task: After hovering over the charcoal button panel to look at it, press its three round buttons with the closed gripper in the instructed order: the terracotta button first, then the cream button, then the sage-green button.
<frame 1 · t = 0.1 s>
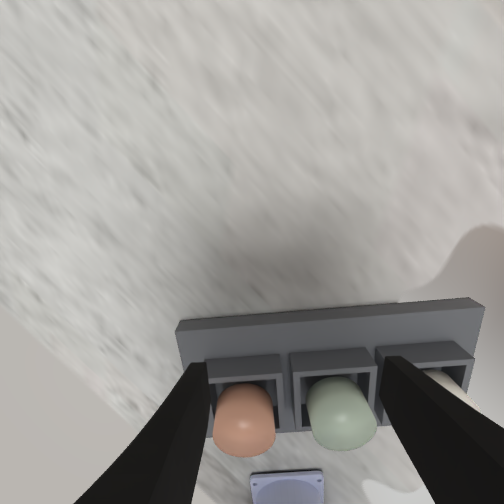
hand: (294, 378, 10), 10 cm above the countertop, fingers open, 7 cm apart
terracotta button: (244, 419, 18), point 4 cm above the countertop, slide at 0.0 cm
panel: (322, 366, 22), on the countertop
cream button: (435, 406, 18), point 4 cm above the countertop, slide at 0.0 cm
sage button: (338, 412, 18), point 5 cm above the countertop, slide at 0.0 cm
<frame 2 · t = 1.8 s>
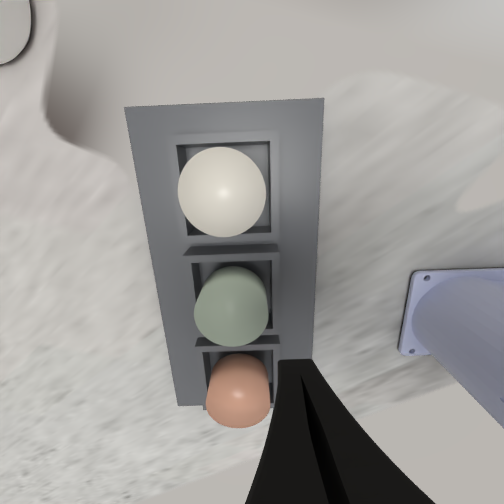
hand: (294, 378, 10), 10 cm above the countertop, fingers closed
terracotta button: (238, 389, 18), point 4 cm above the countertop, slide at 0.0 cm
panel: (236, 276, 20), on the countertop
cream button: (224, 192, 13), point 4 cm above the countertop, slide at 0.0 cm
sage button: (232, 305, 16), point 4 cm above the countertop, slide at 0.0 cm
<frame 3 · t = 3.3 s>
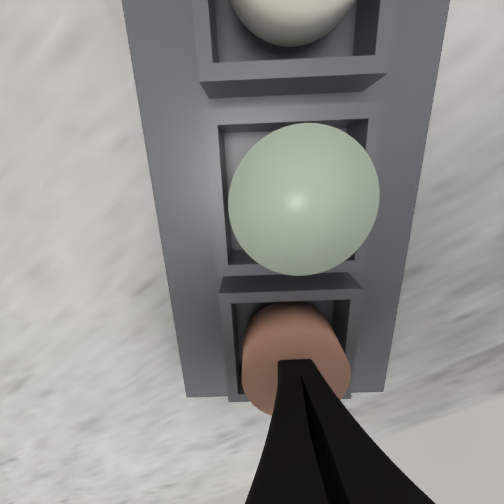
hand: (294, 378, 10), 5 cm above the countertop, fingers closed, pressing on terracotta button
terracotta button: (291, 357, 11), point 4 cm above the countertop, slide at 0.5 cm, touching gripper
panel: (281, 191, 13), on the countertop
sage button: (296, 201, 8), point 4 cm above the countertop, slide at 0.0 cm
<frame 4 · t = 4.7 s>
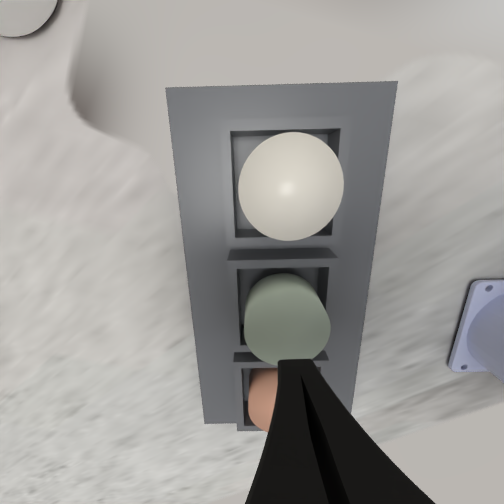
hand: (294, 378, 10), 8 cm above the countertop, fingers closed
terracotta button: (280, 393, 17), point 3 cm above the countertop, slide at 1.3 cm
panel: (276, 282, 18), on the countertop
cream button: (286, 188, 11), point 4 cm above the countertop, slide at 0.0 cm
sage button: (284, 318, 14), point 4 cm above the countertop, slide at 0.0 cm
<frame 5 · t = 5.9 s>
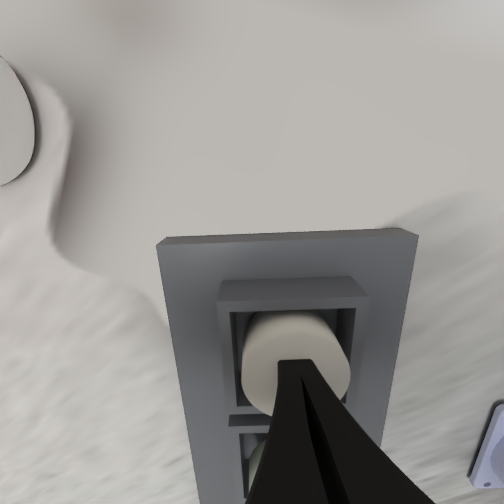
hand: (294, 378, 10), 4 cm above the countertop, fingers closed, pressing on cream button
panel: (282, 406, 16), on the countertop
cream button: (291, 358, 11), point 3 cm above the countertop, slide at 1.2 cm, touching gripper
sage button: (293, 490, 12), point 4 cm above the countertop, slide at 0.0 cm
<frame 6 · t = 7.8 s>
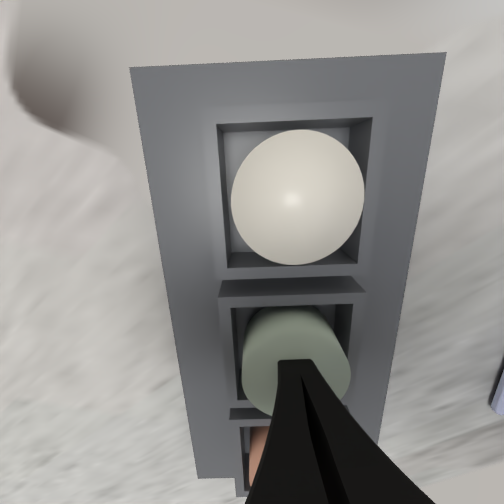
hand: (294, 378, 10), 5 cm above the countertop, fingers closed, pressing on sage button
terracotta button: (288, 453, 14), point 3 cm above the countertop, slide at 1.3 cm
panel: (282, 313, 14), on the countertop
cream button: (291, 199, 9), point 3 cm above the countertop, slide at 1.3 cm
sage button: (291, 358, 11), point 4 cm above the countertop, slide at 0.9 cm, touching gripper
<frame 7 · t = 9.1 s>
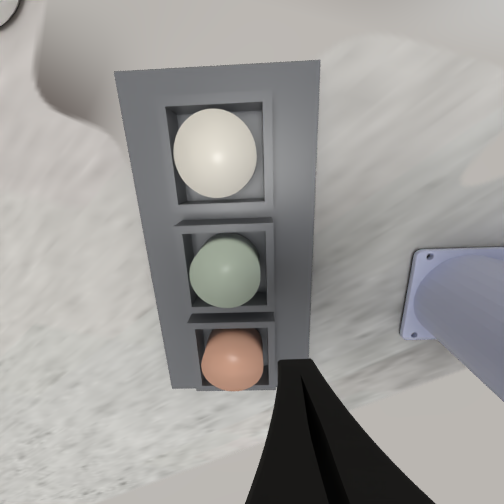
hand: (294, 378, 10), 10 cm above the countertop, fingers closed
terracotta button: (233, 355, 18), point 3 cm above the countertop, slide at 1.3 cm
panel: (231, 254, 19), on the countertop
cream button: (218, 156, 14), point 3 cm above the countertop, slide at 1.3 cm
sage button: (227, 269, 16), point 3 cm above the countertop, slide at 1.3 cm
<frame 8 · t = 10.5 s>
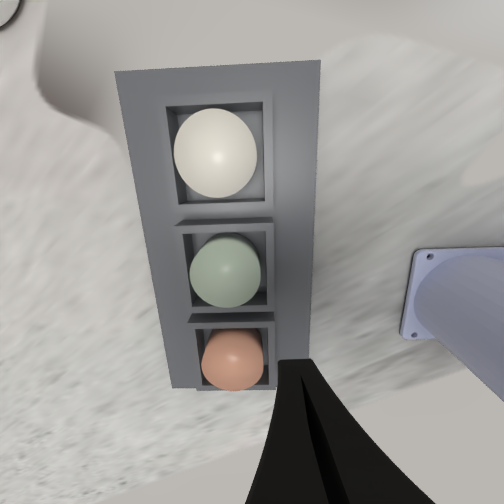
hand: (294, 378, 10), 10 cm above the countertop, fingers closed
terracotta button: (233, 355, 18), point 3 cm above the countertop, slide at 1.3 cm
panel: (232, 253, 19), on the countertop
cream button: (218, 156, 14), point 3 cm above the countertop, slide at 1.3 cm
sage button: (227, 269, 16), point 3 cm above the countertop, slide at 1.3 cm
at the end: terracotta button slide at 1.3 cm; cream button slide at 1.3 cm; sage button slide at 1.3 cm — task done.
